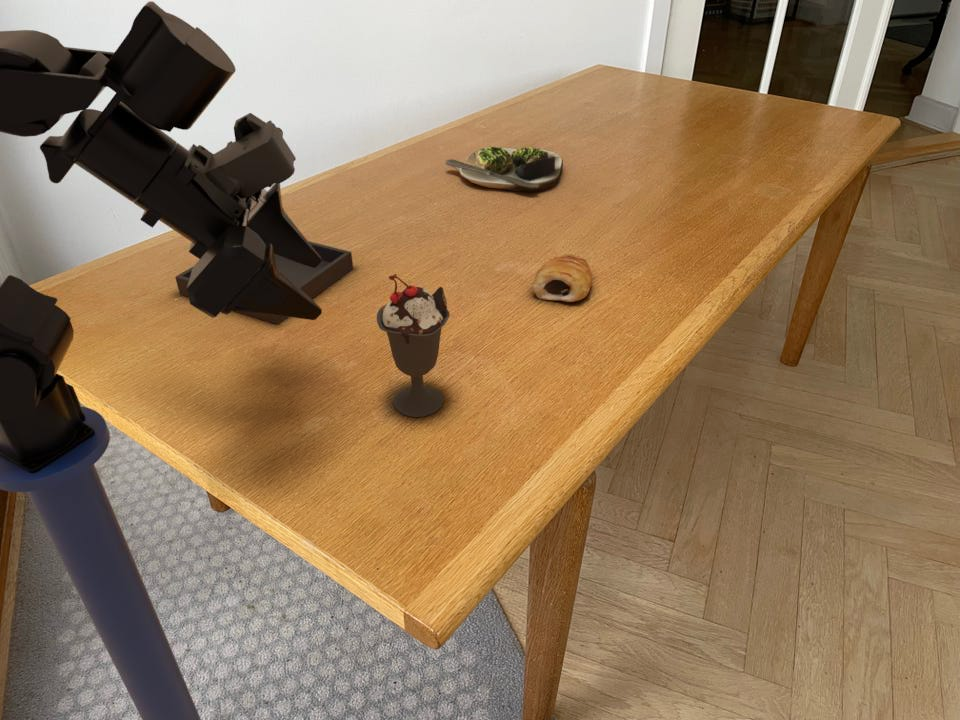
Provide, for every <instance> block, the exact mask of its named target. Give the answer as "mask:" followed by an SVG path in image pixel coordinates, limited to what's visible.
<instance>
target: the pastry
mask: <svg viewBox="0 0 960 720" xmlns="http://www.w3.org/2000/svg"><path fill="white" fill-rule="evenodd" d="M592 281H593V274H592V271H591V268H590V265H589V263H588V262H587V260H586V259H585V258H582V257H578V256H576V255H574V254H569V253H567V254H563V255H560V256H554V257H553V258H550V259H549V260H547V261H546V262H544V264H543V265H542V267H541V268H539V269H538V270H537V271H536V274H535V280H534V284H533V285H532V287H531V289H532V291H533V293H534V294H535V296H536V297H537V298H538V299H540V300H546V301H560V302H566V303H574V302H580V301H581V300H583V299H584V298H586V297H587V296H588V294H589V292H590V290H591V285H592Z"/></svg>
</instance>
